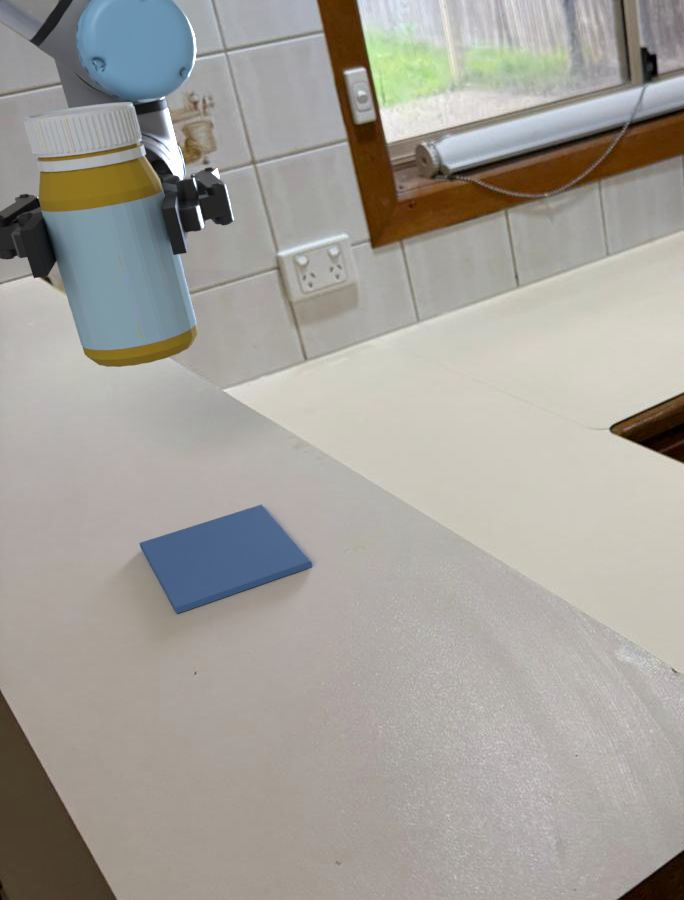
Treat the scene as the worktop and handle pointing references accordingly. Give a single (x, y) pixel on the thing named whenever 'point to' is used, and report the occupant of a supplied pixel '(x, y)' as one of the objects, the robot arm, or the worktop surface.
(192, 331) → the bottle
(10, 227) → the robot arm
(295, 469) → the worktop surface
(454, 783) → the worktop surface
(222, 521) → the blue mat
